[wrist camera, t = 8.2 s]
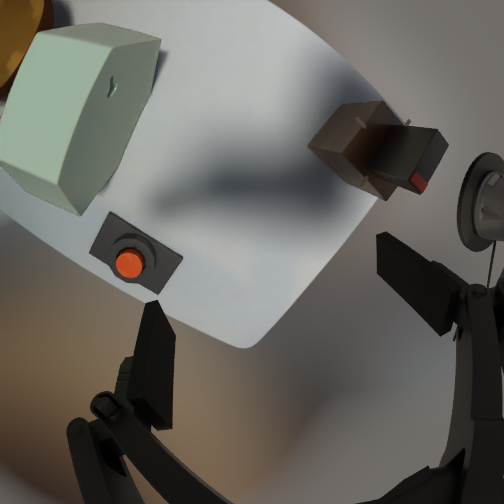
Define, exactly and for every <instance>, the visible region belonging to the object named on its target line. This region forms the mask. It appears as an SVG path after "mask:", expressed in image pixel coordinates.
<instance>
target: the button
mask: <svg viewBox="0 0 504 504" xmlns="http://www.w3.org/2000/svg"><path fill="white" fill-rule="evenodd" d="M143 266H144V258H143V256H142V254H141V253H140V252H139V251H138V250H136V249H133V248H127V249H125V250H123V251H122V252H121V253H120V255H119V256H118V258H117V260H116V267H117V270H118V271H119V273H120V274H121V275H123V276H124V277H127V278H134V277H137V276H138V275H139V274H140V273H141V271H142V268H143Z"/></svg>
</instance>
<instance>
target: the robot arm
mask: <svg viewBox="0 0 504 504" xmlns="http://www.w3.org/2000/svg"><path fill="white" fill-rule="evenodd" d="M471 218H472V225H473V229H474V231H475V233H476V234H477V235H479V236H480V237H482V238H484V239H489V240H494V244H493V251H492V256H491V263H490V269H489V276H488V283H487V288H486V287H485V286H483V285H481V284H471V285H469V284H468V283H467V282H465V281H464V280H463V279H461V278H460V277H459V276H458V275H456V274H455V273H453V272H452V271H451V270H449V269H448V268H447V267H445V266H444V265H443V264H441V263H438V262H436V261H431V262H430V261H428V260H427V259H425V258H424V257H423V256H421V255H420V254H419V253H417V252H416V251H414V250H413V249H411V248H410V247H409V246H407V245H406V244H404V243H403V242H401V241H400V240H398V239H396V238H395V237H394V236H392V235H391V234H389V233H387V232H383V233H380V234H377V235H376V243H377V274H378V275H379V276H380V277H381V278H382V279H383V280H384V281H385V282H387V283H388V284H389V285H390V286H391V287H392V288H393V289H394V290H395V291H396V292H397V293H398V294H399V295H400V296H401V297H402V298H403V299H404V300H405V301H406V302H407V303H408V304H409V305H410V306H411V307H412V308H413V309H414V310H415V311H416V312H417V313H418V314H419V315H420V316H421V317H422V318H423V319H424V320H425V321H426V322H427V323H428V324H429V325H430V326H431V327H432V328H433V329H434V331H435V332H436V333H437V334H438V335H439V336H440V337H441V336H442V335H444V334H446V333H447V332H449V331H451V328H452V324H453V321H454V322H455V323H456V324H457V329H456V332H455V335H454V338H453V341H455V339H456V375H455V389H454V400H453V410H452V417H451V424H450V430H449V436H448V442H447V446H446V450H445V452H444V454H443V456H442V458H441V461H440V464H439V467H436V468H432V469H430V468H429V466H427V467H425V468H423V469H422V470H420V471H418V472H416V473H415V474H413V475H411V476H409V477H408V478H406V479H404V480H403V481H402V482H400V483H399V484H398V485H397V486H396V487H394V488H393V489H392V490H391V491H389V492H388V493H387V494H385V495H384V496H383V497H381V498H380V499H377V500H372V501H368V502H362V503H357V504H504V478H503V476H504V419H503V416H502V374H501V367H502V370H503V373H504V268H503V270H502V273H501V275H500V277H499V279H498V281H497V284H496V286H495V287H493V288H489V283H490V276H491V270H492V264H493V258H494V252H495V246H496V240H497V241H504V175H503V174H501V173H499V172H496V171H489V172H487V173H486V174H485V175H484V176H483V177H482V178H481V180H480V182H479V184H478V186H477V188H476V191H475V194H474V198H473V203H472V212H471ZM175 341H176V335H175V333H174V331H173V329H172V327H171V326H170V323H169V322H168V320H167V318H166V316H165V314H164V312H163V310H162V308H161V306H160V304H159V302H158V300H155V301H152V302H148V303H145V307H144V312H143V316H142V319H141V324H140V328H139V332H138V336H137V341H136V345H135V350H134V355H133V356H131V357H126V358H125V359H124V361H123V362H122V364H121V365H120V369H119V375H118V378H117V382H116V387H115V392H114V394H113V393H112V392H109V391H104V392H101V393H99V394H97V395H96V396H95V397H94V398H93V400H92V402H91V404H90V410H91V412H92V413H93V414H94V415H95V416H96V417H97V418H98V419H96V420H94V421H91V422H88V421H86V420H85V419H84V418H80V417H79V418H75V419H73V420H72V421H71V422H70V423H69V425H68V427H67V439H68V444H69V449H70V453H71V458H72V462H73V466H74V470H75V473H76V477H77V480H78V484H79V487H80V491H81V494H82V497H83V500H84V503H85V504H145V503H144V501H143V499H142V498H141V495H140V493H139V491H138V490H137V487H136V485H135V483H134V481H133V479H132V477H131V475H130V472H129V470H128V468H127V465H126V463H125V461H124V458H123V455H126V456H127V457H128V458H129V459H130V461H131V462H132V463H133V465H134V466H135V467H136V468H137V469H138V470H139V472H140V473H141V474H142V475H143V476H144V478H145V479H146V480H147V481H148V482H149V483H150V484H151V485H152V486H153V487H154V489H155V490H156V491H157V492H158V493H159V494H160V495H161V496H162V497H163V498H164V499H165V500H166V501H167V502H168V503H169V504H233V503H232V502H231V501H229V500H227V499H226V498H225V497H223V496H222V495H221V494H220V493H218V492H217V491H216V490H214V489H213V488H212V487H211V486H209V485H208V484H207V483H206V482H204V481H203V480H202V479H201V478H200V477H198V476H197V475H196V474H195V473H194V472H192V471H191V470H190V469H189V468H188V467H187V466H186V465H184V464H183V463H182V462H181V461H180V460H179V459H178V458H177V457H176V456H175V455H174V454H173V453H171V452H170V451H169V450H168V449H167V448H166V447H165V446H164V445H163V444H162V443H161V442H160V441H159V440H158V439H157V438H156V437H155V436H154V435H153V434H152V433H151V425H152V426H153V427H154V428H155V429H156V430H157V431H159V430H168V429H172V418H173V417H172V416H173V378H174V358H175V357H174V355H175Z"/></svg>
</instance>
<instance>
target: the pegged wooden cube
mask: <svg viewBox="0 0 504 504" xmlns="http://www.w3.org/2000/svg"><path fill="white" fill-rule="evenodd" d="M410 122H411V121H410V120H408V121H407V122H406V123H405V125H403V124H402V123H401V121H400V120H399V119H398V118H397V117H396V115H395V114H394V113H393V112H392V110H391V109H390V108H389V107H388V106H387V104H386V103H385V102H384V101H383V100H382V101H369V102H359V103H350V104H342V105H341V106H340V107H339V108H338V109H337V111H336V112H335V113H334V114H333V115H332V117H331V118H330V119H329V120H328V121H327V123H326V124H325V125H324V126H323V127H322V129H321V130H320V131H319V132H318V134H317V135H316V136H315V137H314V138H313V140H312V141H311V142H310V143H309V145H308V146H307V147H308V148H309V149H311V150H312V151H313V152H314V153H315V154H316V155H317V156H318V157H320V158H321V159H322V160H323V161H324V162H325V163H326V164H327V165H328V166H329V167H330V168H331V169H333V170H334V171H335V172H336V173H337V174H338V175H339V176H340V177H341V178H342V179H343V180H344V181H345V182H346V183H348V184H350V185H352V186H354V187H357V188H359V189H361V190H363V191H365V192H368V193H370V194H372V195H374V196H376V197H378V198H380V199H382V200H384V201H387V200H388V199H389V197H390V196H391V195H392V193H393V192H394V191H395V189H396V188H397V187H398V186H397V185H394V184H391V183H389V182H386V181H383V180H381V179H379V178H378V177H377V176H375V175H374V174H373V173H372V172H371V171H370V170H369V169H368V168H367V166H368V164H369V162H370V161H371V159H372V158H373V156H374V155H375V153H376V152H377V150H378V148H379V147H380V145H381V144H382V142H383V141H384V139H385V137H386V136H387V134H388V133H389V131H390V129H391V128H392V126H393V125H403V126H408V125H409V124H410Z"/></svg>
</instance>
